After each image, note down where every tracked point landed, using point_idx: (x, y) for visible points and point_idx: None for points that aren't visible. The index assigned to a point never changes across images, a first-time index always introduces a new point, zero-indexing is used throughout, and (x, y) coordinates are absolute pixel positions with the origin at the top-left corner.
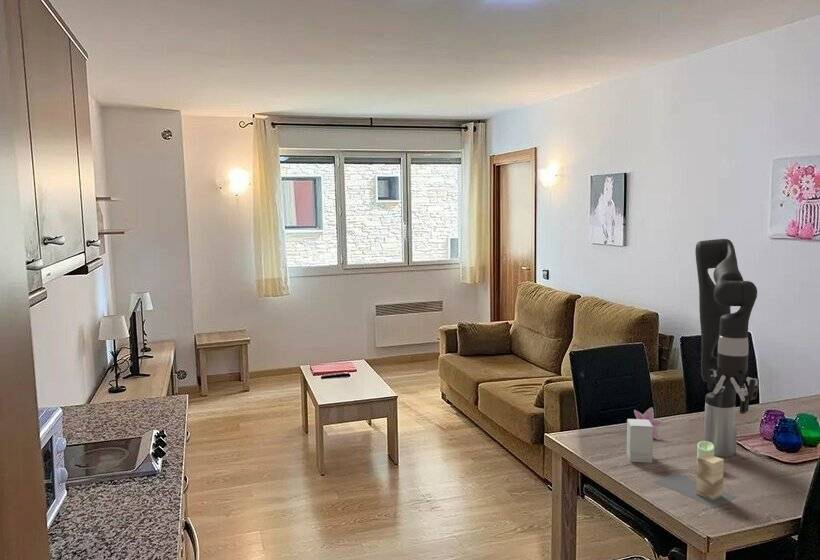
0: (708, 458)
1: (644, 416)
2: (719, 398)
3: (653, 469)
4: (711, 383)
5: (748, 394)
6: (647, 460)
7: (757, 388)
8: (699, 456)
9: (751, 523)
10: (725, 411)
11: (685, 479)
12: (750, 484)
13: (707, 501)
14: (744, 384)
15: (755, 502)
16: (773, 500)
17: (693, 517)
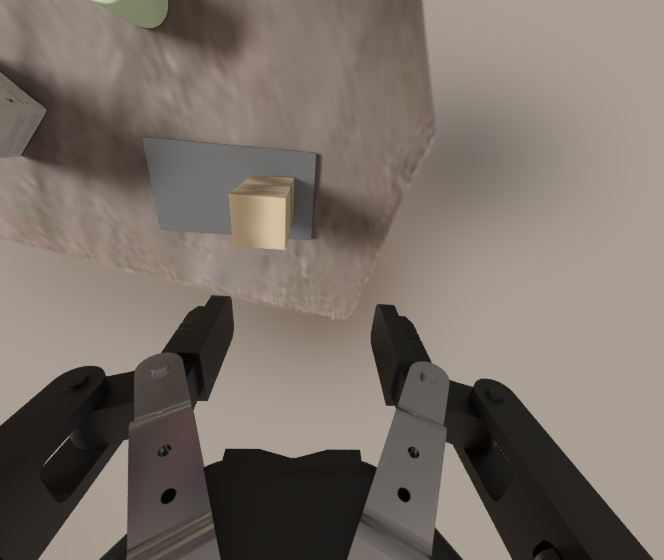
0: (254, 227)
1: None
2: (216, 364)
3: (92, 151)
4: (79, 495)
5: (475, 476)
6: (37, 120)
7: (592, 497)
8: (114, 12)
9: (380, 235)
10: None
11: (186, 156)
12: (294, 14)
13: None
14: (435, 501)
15: (351, 133)
16: (376, 81)
17: (302, 290)
